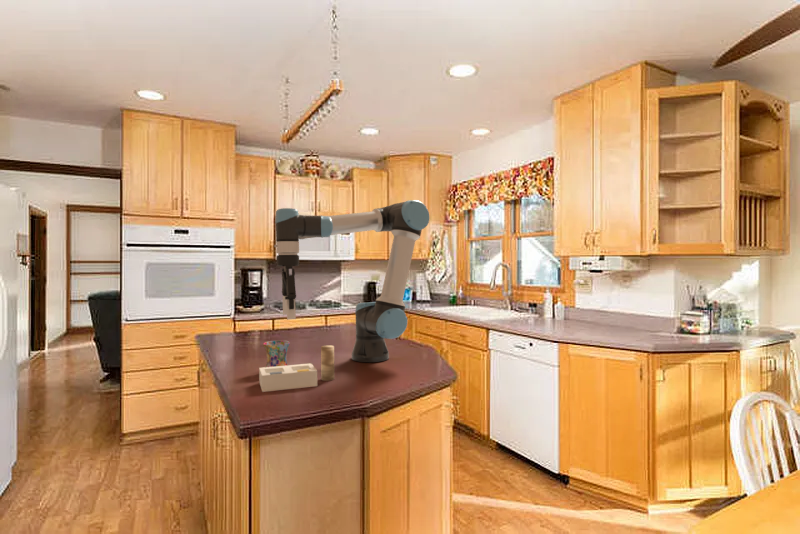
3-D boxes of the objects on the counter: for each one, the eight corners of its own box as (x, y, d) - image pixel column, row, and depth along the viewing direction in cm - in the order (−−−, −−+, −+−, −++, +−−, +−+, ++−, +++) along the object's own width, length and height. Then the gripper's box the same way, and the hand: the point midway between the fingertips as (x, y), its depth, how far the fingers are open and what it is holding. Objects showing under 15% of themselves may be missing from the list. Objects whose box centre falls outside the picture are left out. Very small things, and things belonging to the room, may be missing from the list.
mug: (291, 373, 163) (291, 344, 163) (264, 376, 159) (264, 345, 159) (287, 366, 174) (287, 338, 174) (261, 368, 171) (261, 340, 170)
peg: (332, 376, 158) (332, 345, 158) (335, 379, 154) (335, 347, 154) (320, 378, 157) (319, 346, 156) (322, 381, 153) (322, 348, 152)
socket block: (311, 377, 157) (311, 362, 157) (317, 386, 147) (317, 369, 146) (259, 382, 151) (259, 367, 151) (262, 391, 140) (261, 375, 140)
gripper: (273, 254, 166) (274, 313, 166) (279, 254, 142) (281, 322, 143) (294, 254, 168) (295, 312, 169) (304, 253, 145) (305, 320, 145)
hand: (289, 316), depth 156 cm, fingers open, 13 cm apart
